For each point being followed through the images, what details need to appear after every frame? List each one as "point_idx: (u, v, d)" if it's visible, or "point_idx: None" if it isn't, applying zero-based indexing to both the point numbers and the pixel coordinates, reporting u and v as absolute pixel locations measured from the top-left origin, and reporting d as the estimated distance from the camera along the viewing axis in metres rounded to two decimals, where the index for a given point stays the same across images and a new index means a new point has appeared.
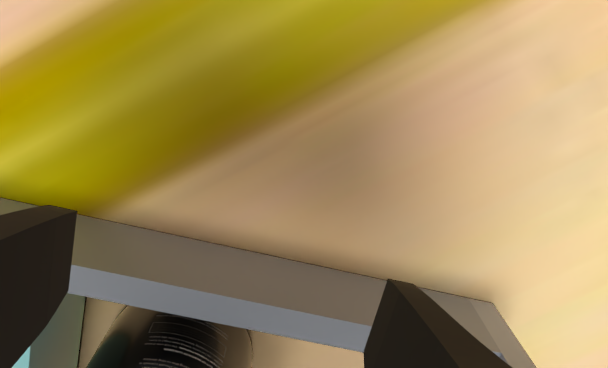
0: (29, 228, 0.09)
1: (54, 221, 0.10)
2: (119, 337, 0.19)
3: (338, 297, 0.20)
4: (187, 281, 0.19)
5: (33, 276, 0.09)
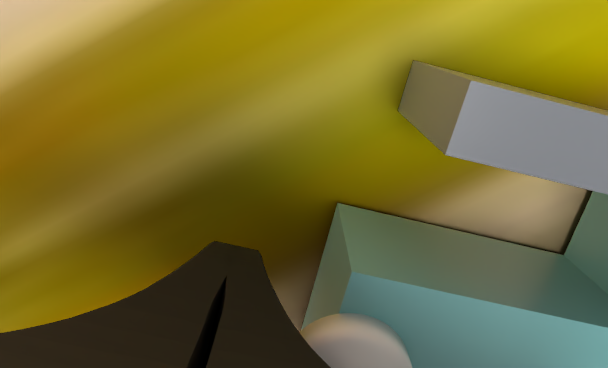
0: (228, 270, 0.09)
1: None
2: None
3: None
4: None
5: None
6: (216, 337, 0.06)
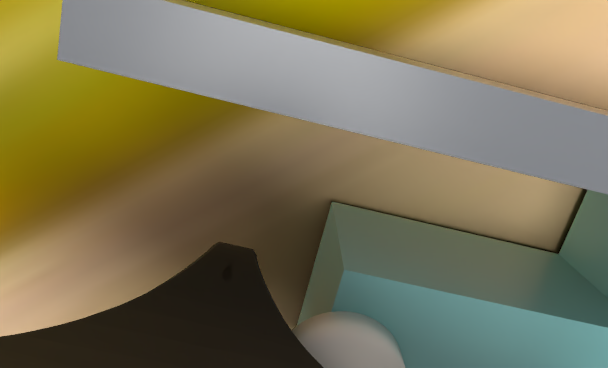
0: (234, 272, 0.09)
1: None
2: None
3: None
4: None
5: None
6: (207, 335, 0.06)
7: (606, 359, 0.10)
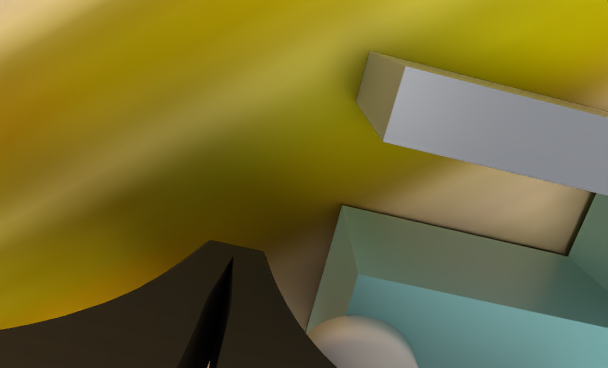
0: (223, 270, 0.09)
1: (231, 259, 0.10)
2: None
3: None
4: None
5: (216, 314, 0.10)
6: (224, 338, 0.06)
7: None
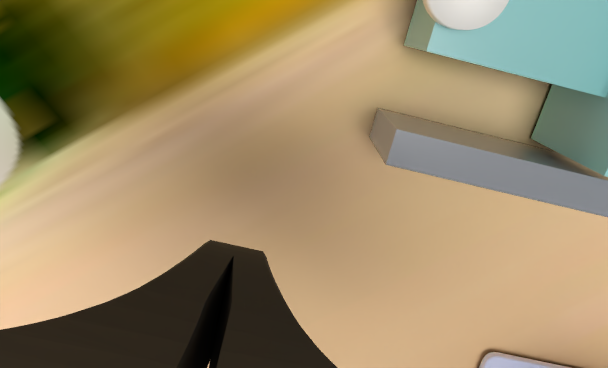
0: (223, 269, 0.09)
1: (231, 259, 0.10)
2: None
3: None
4: None
5: (216, 314, 0.10)
6: (224, 339, 0.06)
7: None
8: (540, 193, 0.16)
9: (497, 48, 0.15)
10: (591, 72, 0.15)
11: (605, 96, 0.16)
